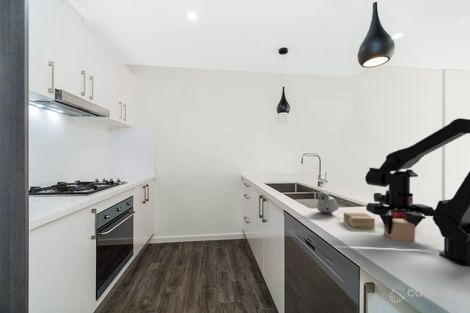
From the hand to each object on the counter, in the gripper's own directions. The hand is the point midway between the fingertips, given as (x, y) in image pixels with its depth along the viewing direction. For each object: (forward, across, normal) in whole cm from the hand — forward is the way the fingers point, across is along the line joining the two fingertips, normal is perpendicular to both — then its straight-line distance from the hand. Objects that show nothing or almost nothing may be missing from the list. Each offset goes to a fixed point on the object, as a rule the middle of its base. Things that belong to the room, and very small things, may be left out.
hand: (398, 234), depth 71 cm
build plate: (+2, +7, -12) cm, 14 cm away
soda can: (+2, -12, -17) cm, 21 cm away
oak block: (+1, +8, -11) cm, 14 cm away
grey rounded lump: (+2, +15, -26) cm, 30 cm away
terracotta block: (+2, 0, 0) cm, 2 cm away
